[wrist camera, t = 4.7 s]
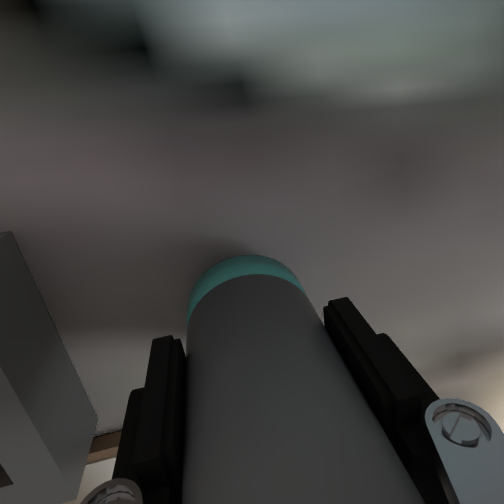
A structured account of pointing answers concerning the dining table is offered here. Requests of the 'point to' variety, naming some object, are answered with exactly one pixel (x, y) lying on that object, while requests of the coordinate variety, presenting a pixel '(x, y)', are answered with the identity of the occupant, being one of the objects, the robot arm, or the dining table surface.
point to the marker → (276, 400)
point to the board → (98, 464)
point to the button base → (37, 396)
